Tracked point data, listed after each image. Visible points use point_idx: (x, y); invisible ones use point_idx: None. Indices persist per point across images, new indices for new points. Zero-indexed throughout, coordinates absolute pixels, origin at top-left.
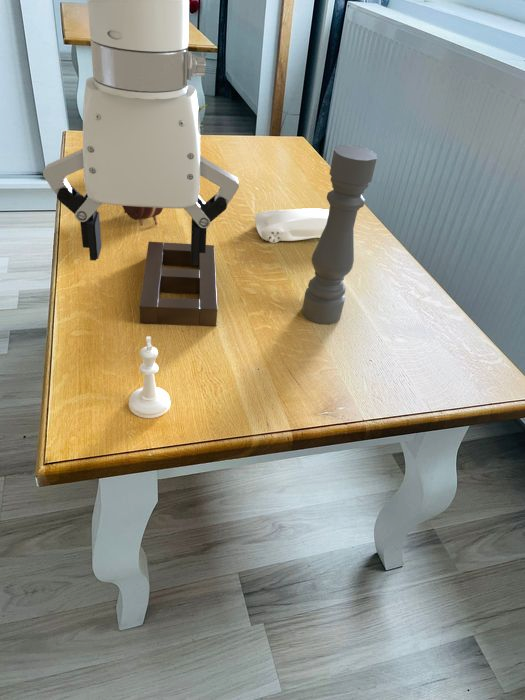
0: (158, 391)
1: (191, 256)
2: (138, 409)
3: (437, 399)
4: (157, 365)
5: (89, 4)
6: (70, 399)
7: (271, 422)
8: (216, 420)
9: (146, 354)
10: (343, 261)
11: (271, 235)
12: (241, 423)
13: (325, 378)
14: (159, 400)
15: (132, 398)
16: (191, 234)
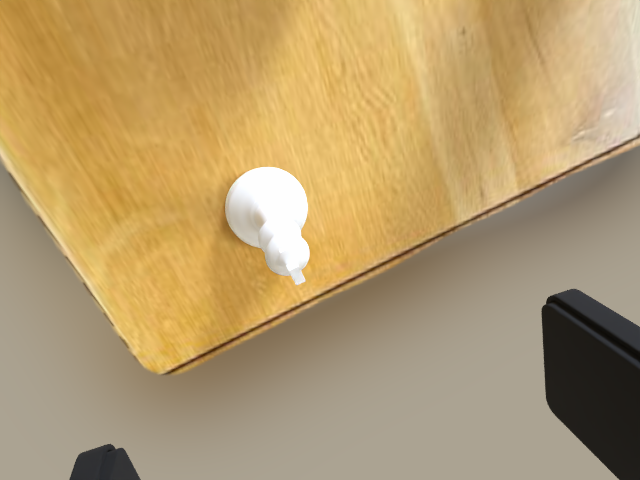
0: (285, 205)
1: (574, 432)
2: (257, 245)
3: None
4: (297, 229)
5: None
6: (107, 241)
7: (488, 187)
8: (395, 210)
9: (287, 271)
10: None
11: None
12: (438, 204)
13: (597, 26)
14: (291, 217)
15: (235, 222)
16: (628, 415)
